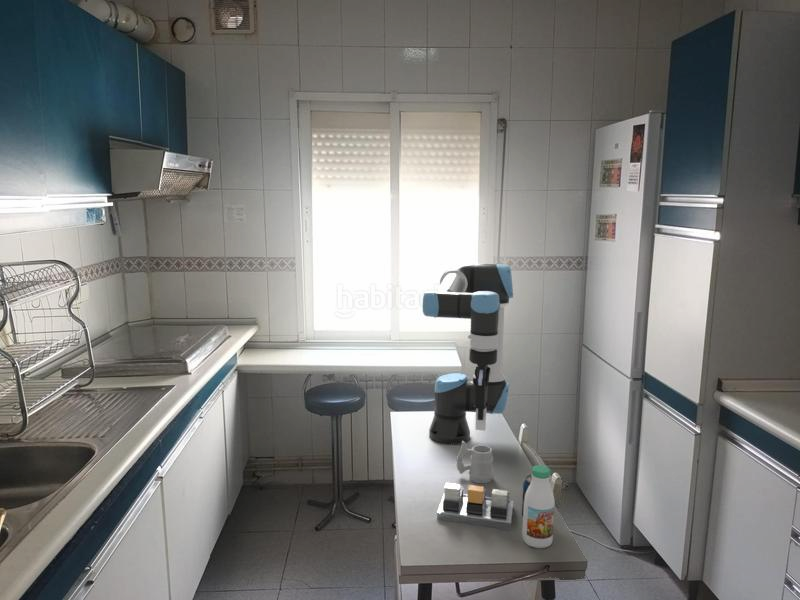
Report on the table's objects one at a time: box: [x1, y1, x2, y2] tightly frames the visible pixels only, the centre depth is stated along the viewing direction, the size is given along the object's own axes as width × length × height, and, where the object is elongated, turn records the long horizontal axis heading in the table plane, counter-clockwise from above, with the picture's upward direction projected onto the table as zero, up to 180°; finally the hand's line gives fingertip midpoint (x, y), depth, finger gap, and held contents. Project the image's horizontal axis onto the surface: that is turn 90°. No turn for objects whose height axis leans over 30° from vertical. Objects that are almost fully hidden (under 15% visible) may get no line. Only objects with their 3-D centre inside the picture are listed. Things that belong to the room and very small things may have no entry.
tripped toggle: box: [467, 484, 485, 504], centre depth 160 cm, size 3×4×4 cm
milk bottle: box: [521, 464, 556, 549], centre depth 149 cm, size 8×8×20 cm
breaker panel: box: [436, 482, 514, 531], centre depth 163 cm, size 12×20×9 cm, turn 76°
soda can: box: [521, 474, 532, 517], centre depth 159 cm, size 7×7×12 cm
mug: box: [455, 441, 494, 484], centre depth 183 cm, size 8×12×12 cm, turn 84°
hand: (480, 429), depth 163 cm, fingers closed
